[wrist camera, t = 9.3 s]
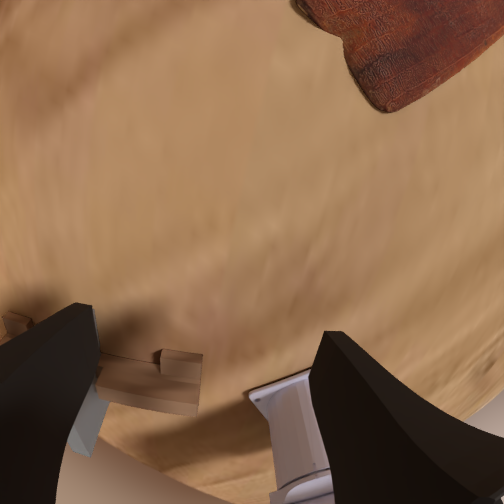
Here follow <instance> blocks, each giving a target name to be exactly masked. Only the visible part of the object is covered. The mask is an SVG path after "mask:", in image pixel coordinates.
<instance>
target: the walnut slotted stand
mask: <svg viewBox="0 0 504 504" xmlns="http://www.w3.org/2000/svg"><path fill="white" fill-rule="evenodd" d="M2 318H3V321H4V324H5V327H6V330H7V334H6V335H5V336H4V337H3V338H2V340H1V341H0V345H2V344H4V343H6V342H7V341H9V340H11V339H13V338H14V337H16V336H18V335H20V334H22V333H23V332H25V331H27V330H29V329H30V328H32V327H33V323H32V319H31V318H27V317H24V316H21V315H18V314H15V313H12V312H9V311H8V312H7V313H6V314H5V315H4V316H3V317H2ZM202 357H203V355H202V354H194V353H186V352H179V351H173V350H166V349H162V353H161V356H160V364H154V363H148V362H143V361H138V360H132V359H127V358H123V357H118V356H113V355H109V354H104V353H101V356H100V360H99V363H98V366H97V370H96V373H95V374H96V378H97V379H98V380H97V382H96V384H95V386H96V390H97V393H98V397H99V399H102V400H106V401H110V402H114V403H118V404H123V405H127V406H132V407H137V408H141V409H147V410H152V411H157V412H163V413H169V414H176V415H183V416H190V417H197V412H198V405H199V394H200V381H201V369H202Z"/></svg>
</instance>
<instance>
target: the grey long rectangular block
mask: <svg viewBox="0 0 504 504" xmlns="http://www.w3.org/2000/svg"><path fill="white" fill-rule="evenodd" d="M93 316H94V322H95V327H96V333H97V338H98V343H99V337H98V331H97V325H96V318H95V310H94V309H93ZM99 347H100V343H99ZM97 380H98V379H97V378H96V374H95V376H94V379H93V382H92V384H91V386H90V388H89V390H88V393H87V395H86V397H85V399H84V402H83V404H82V406H81V408H80V411H79V413H78V415H77V417H76V420H75V422H74V424H73V427H72V429H71V431H70V434H69V437H68V440H67V442H68V444H69V445H70V447H71V449H72V450H73V452H76V453H79V454H82V455H85V456H88V457H91V455H92V452H93V449H94V446H95V443H96V440H97V437H98V434H99V431H100V428H101V425H102V422H103V419H104V416H105V414H106V411H107V408H108V405H109V403H110V401H106V400H102V399H99V397H98V393H97V390H96V386H95V384H96V382H97Z"/></svg>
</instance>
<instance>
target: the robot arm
mask: <svg viewBox="0 0 504 504" xmlns="http://www.w3.org/2000/svg"><path fill="white" fill-rule="evenodd" d="M100 356H101V353H100V348H99V343H98V338H97V333H96V327H95V322H94V316H93V309H92V305H86V304H81V303H73V304H71V305H69V306H67V307H66V308H64V309H62V310H60V311H59V312H57V313H55V314H53V315H52V316H50V317H48V318H47V319H45V320H43V321H42V322H40V323H38V324H37V325H35V326H33V327H32V328H30V329H29V330H27V331H25V332H23V333H22V334H20V335H18V336H16V337H14V338H13V339H11V340H9V341H7V342H6V343H4V344H2V345H0V504H55V502H56V491H57V484H58V478H59V473H60V467H61V463H62V458H63V454H64V450H65V446H66V443H67V440H68V437H69V434H70V431H71V429H72V427H73V424H74V422H75V420H76V417H77V415H78V413H79V411H80V408H81V406H82V404H83V402H84V399H85V397H86V395H87V393H88V390H89V388H90V386H91V384H92V382H93V379H94V376H95V373H96V370H97V366H98V363H99V360H100ZM256 398H258V399H256ZM249 399H250V400H251V401H252V402H253V404H254V405H255V406H256V407H257V408H258V410H259V411H260V412H261V413H262V415H263V416H264V417H265V418H266V419H267V421H268V422H269V428H270V436H271V444H272V452H273V459H274V467H275V475H276V483H277V491H275V492H271V493H269V496H270V504H503V502H502V500H501V497H502V496H504V438H502V437H499V436H496V435H493V434H490V433H488V432H485V431H482V430H480V429H477V428H475V427H473V426H470V425H468V424H466V423H464V422H462V421H460V420H458V419H456V418H454V417H452V416H450V415H449V414H447V413H445V412H443V411H442V410H440V409H438V408H437V407H435V406H434V405H432V404H431V403H429V402H428V401H426V400H424V399H423V398H422V397H420V396H419V395H417V394H416V393H415V392H413V391H412V390H411V389H409V388H408V387H407V386H406V385H404V384H403V383H402V382H400V381H399V380H398V379H397V378H395V377H394V376H393V375H392V374H391V373H389V372H388V371H387V370H386V369H385V368H384V367H383V366H381V365H380V364H379V363H378V362H377V361H376V360H375V359H373V358H372V357H371V356H370V355H369V354H368V353H367V352H366V351H365V350H363V349H362V348H361V347H360V346H359V345H358V344H357V343H356V342H355V341H353V340H352V339H351V338H350V337H349V336H347V335H346V334H345V333H344V332H342V331H324V334H323V336H322V339H321V342H320V345H319V348H318V351H317V354H316V357H315V359H314V362H313V365H312V368H311V369H310V370H307V371H305V372H302V373H299V374H297V375H294V376H292V377H289V378H286V379H284V380H281V381H278V382H275V383H273V384H270V385H267V386H264V387H261V388H258V389H255V390H252V391H250V392H249Z"/></svg>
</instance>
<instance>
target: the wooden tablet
mask: <svg viewBox="0 0 504 504" xmlns="http://www.w3.org/2000/svg"><path fill="white" fill-rule="evenodd" d="M296 3H297V5H298V6H299V8H300V9H301V10H302V11H303V12H304V13H305V14H306V15H307V16H308V17H309V18H310V19H312V20H313V21H314V22H315V23H316V24H317V25H318V26H319V27H320V28H321V29H323V30H324V31H326V32H328V33H330V34H333V35H335V36H338V37H340V38H341V39H342V40H343V48H344V55H345V59H346V60H347V64H348V66H349V68H350V70H351V72H352V74H353V75H354V77H355V78H356V80H357V82H358V83H359V85H360V87H361V88H362V89H363V90H364V93H365V94H366V95H367V97H368V98H369V99H370V101H371V102H372V103H373V105H374V106H376V107H377V108H379V109H380V110H384V111H386V112H397V111H398V110H400V109H402V108H404V107H405V106H407V105H409V104H411V103H412V102H414V101H416V100H418V99H420V98H421V97H423V96H425V95H426V94H428V93H429V92H431V91H432V90H434V89H435V88H436V87H438V86H439V85H441V84H442V83H444V82H446V81H447V80H448V79H449V78H451V77H452V76H454V75H455V74H456V73H458V72H460V71H461V69H463V68H465V67H466V66H467V65H469V64H470V63H471V62H472V61H474V60H475V59H476V58H478V57H479V56H480V55H481V54H482V53H483V52H484V51H485V50H487V49H488V48H489V47H490V46H491V45H492V44H494V43H495V42H496V41H497V40H498V39H499V38H500V37H501V36H503V35H504V0H296Z"/></svg>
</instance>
